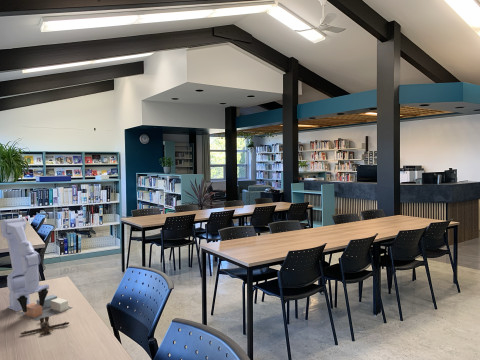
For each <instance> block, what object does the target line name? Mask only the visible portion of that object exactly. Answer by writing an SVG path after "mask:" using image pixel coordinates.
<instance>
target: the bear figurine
mask: <svg viewBox="0 0 480 360" xmlns="http://www.w3.org/2000/svg"><path fill="white" fill-rule="evenodd" d="M49 320H50V317H47V316H46V317H45V318H44V317H43V318H40V320H39V323H40V326H41V327H39V328H38V327H37V328H35V329H31V330H24V331H23V332H20V335H22V336H23V335H27V334H32V333H35V332H37V333H38V332H39V334H40V335H43V334H44V335H48V334H49V333H51V332H53V331H54V330H53V329H54V328H58V327H64V326H68V325H70V322H67V321H65V322H62V323H58V324H53V325H52V324H51V325H50V323H49Z"/></svg>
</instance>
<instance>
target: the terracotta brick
mask: <svg viewBox="0 0 480 360" xmlns="http://www.w3.org/2000/svg"><path fill="white" fill-rule="evenodd" d="M25 315H28V316H31V317H33V318H35V317H37V316H40V315H43V313H42V306H40V305H38V304H37V303H34V302H30V304H28V305H27V312H25Z"/></svg>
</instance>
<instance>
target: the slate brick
mask: <svg viewBox="0 0 480 360" xmlns="http://www.w3.org/2000/svg"><path fill="white" fill-rule="evenodd" d="M57 298H58V296H57V295H55V294H51V295H47V296H46V298H45V301H44V306H42V309H45V308H47V307H50V306H51V300H54V299H57ZM36 304H38V305H40V304H39V298H38V299H36Z"/></svg>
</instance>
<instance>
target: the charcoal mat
mask: <svg viewBox="0 0 480 360" xmlns="http://www.w3.org/2000/svg"><path fill="white" fill-rule="evenodd" d="M71 309H73V307H71V306H69V305H68V309H67V310H64V311H62V312H59V311H56V310H54V309H51V306H50V307H47V308H45V309H42V313H43V315H40V316H37V317H35V318H33V317H31V316H28V315H25V312H23V311H21V312H18V313H17V314H19V315H21V316H24V317H26V318H29V319H32V320H33V321H37V322H40V318H43V317H44V319H45V317H46V316H47V317H49V318H50V317H51V316H52V317H53V316H55V315H58V314H60V313H63V312H66V311H68V310H71Z"/></svg>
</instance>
